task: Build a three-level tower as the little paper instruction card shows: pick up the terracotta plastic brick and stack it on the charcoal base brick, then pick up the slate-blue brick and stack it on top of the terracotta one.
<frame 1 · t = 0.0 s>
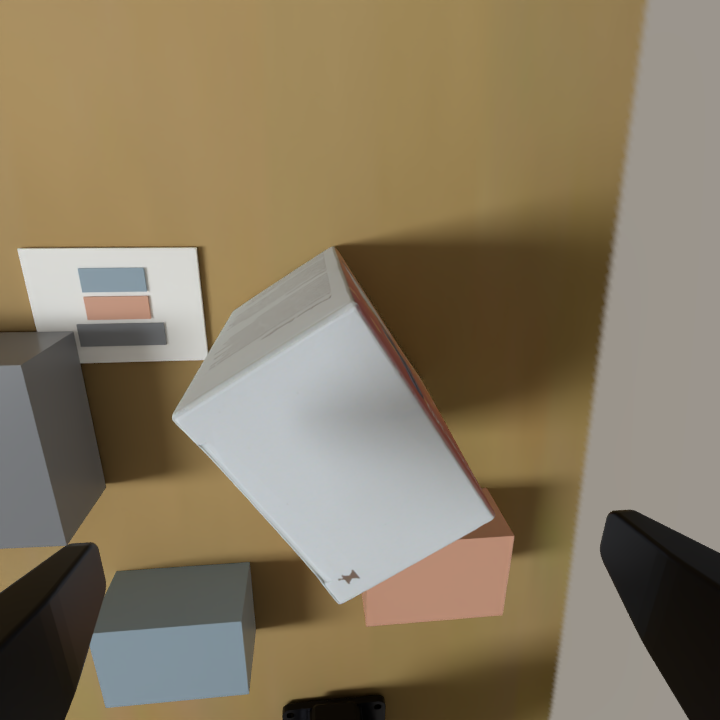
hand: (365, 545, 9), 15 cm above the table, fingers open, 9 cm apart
terracotta brick: (420, 526, 27), on the table
slate brick: (190, 598, 27), on the table
small box: (330, 345, 23), on the table
instruction card: (119, 306, 21), on the table
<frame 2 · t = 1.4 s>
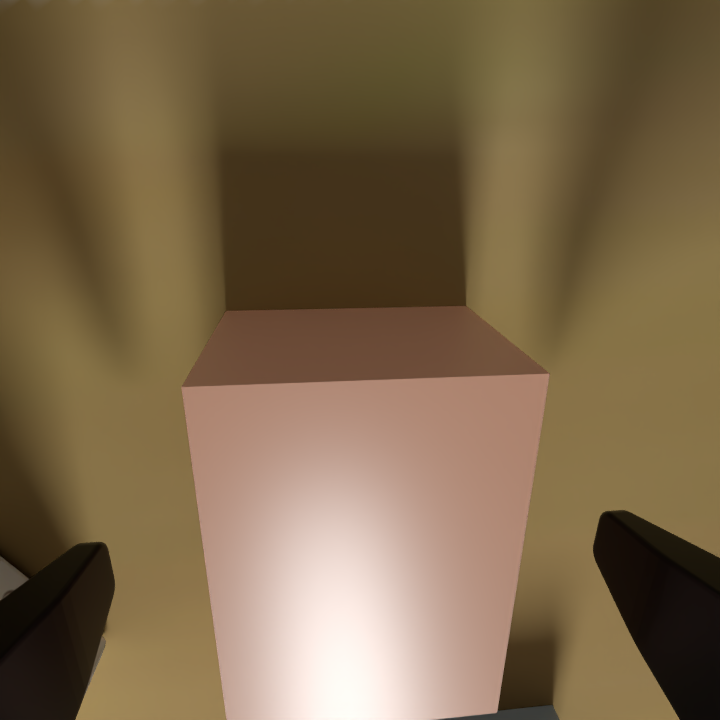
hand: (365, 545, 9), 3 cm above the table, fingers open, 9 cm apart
terracotta brick: (348, 450, 12), on the table
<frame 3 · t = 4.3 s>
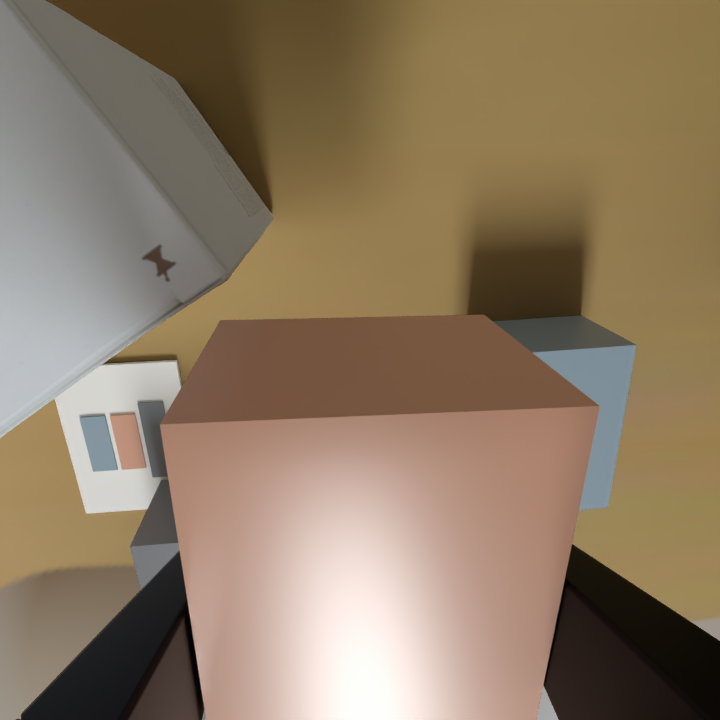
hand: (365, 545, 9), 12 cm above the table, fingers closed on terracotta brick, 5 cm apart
terracotta brick: (355, 475, 10), point 10 cm above the table, touching gripper
slate brick: (516, 392, 22), on the table
small box: (145, 217, 18), on the table
instruction card: (130, 439, 21), on the table
charcoal base brick: (263, 559, 24), on the table, touching instruction card
when the fingers open (7 cm above the table, at t = 6.3 s): terracotta brick stays where it is, resting on charcoal base brick.
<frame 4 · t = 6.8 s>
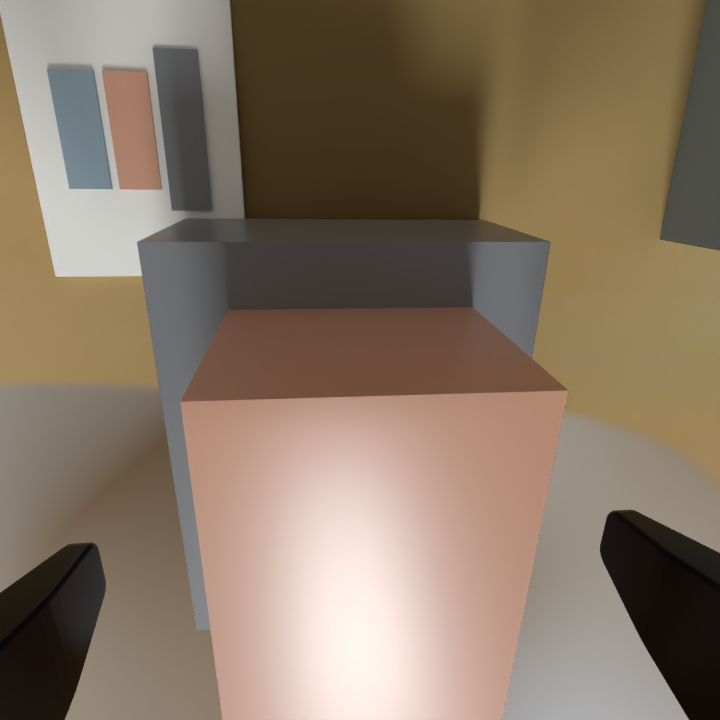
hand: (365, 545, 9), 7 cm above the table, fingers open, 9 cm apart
terracotta brick: (351, 455, 11), point 4 cm above the table, touching charcoal base brick
instruction card: (136, 133, 12), on the table
charcoal base brick: (339, 387, 15), on the table, touching instruction card, terracotta brick
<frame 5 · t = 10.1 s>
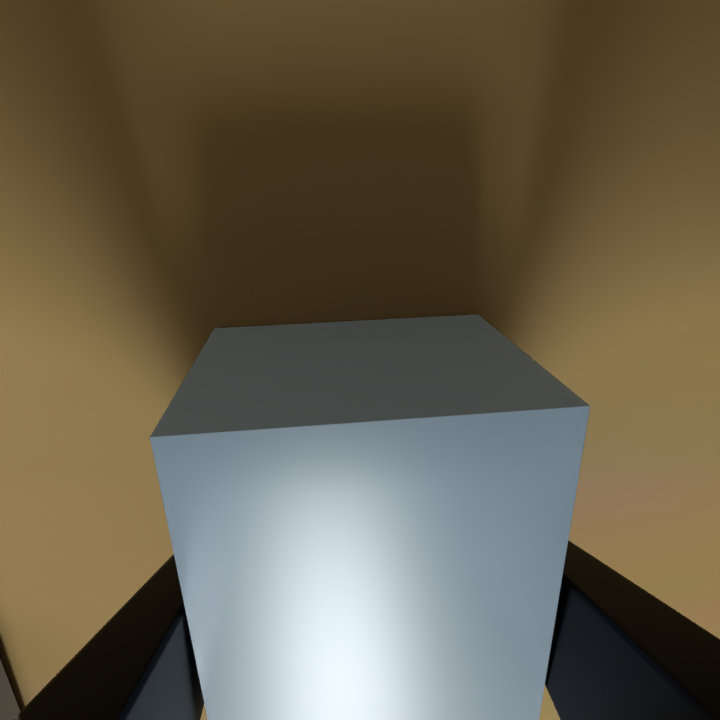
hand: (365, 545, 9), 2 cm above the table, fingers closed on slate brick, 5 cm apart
slate brick: (354, 477, 10), on the table, touching gripper
when the fingers open (11 cm above the table, at t = 13.1 s): slate brick stays where it is, resting on terracotta brick.
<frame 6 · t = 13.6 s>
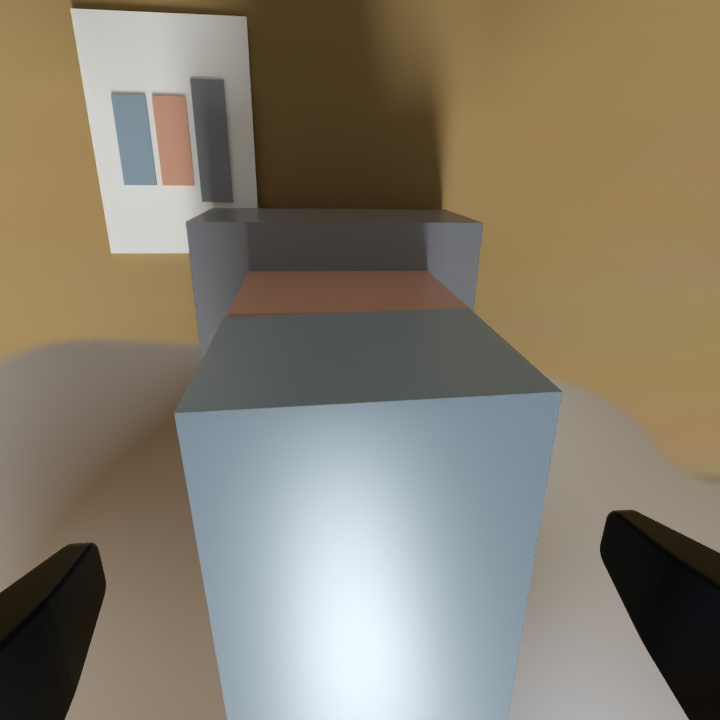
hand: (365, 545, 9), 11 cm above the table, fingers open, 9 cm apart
terracotta brick: (339, 384, 15), point 4 cm above the table, touching charcoal base brick, slate brick
slate brick: (351, 458, 11), point 8 cm above the table, touching terracotta brick
instruction card: (175, 142, 16), on the table
charcoal base brick: (332, 344, 19), on the table, touching instruction card, terracotta brick
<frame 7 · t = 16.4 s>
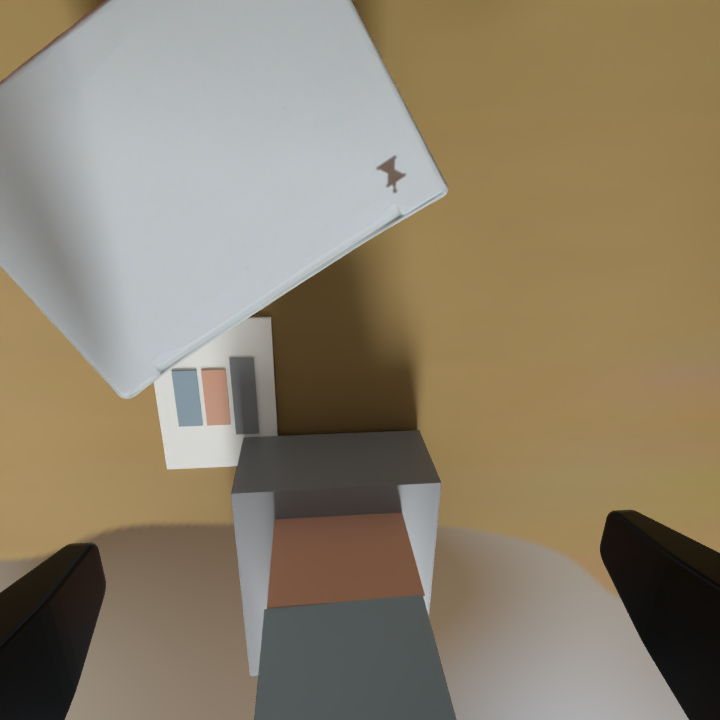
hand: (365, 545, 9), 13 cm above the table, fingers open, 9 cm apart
terracotta brick: (339, 583, 20), point 4 cm above the table, touching charcoal base brick, slate brick
slate brick: (346, 676, 17), point 8 cm above the table, touching terracotta brick
small box: (253, 172, 18), on the table
instruction card: (217, 395, 21), on the table
charcoal base brick: (333, 521, 24), on the table, touching instruction card, terracotta brick
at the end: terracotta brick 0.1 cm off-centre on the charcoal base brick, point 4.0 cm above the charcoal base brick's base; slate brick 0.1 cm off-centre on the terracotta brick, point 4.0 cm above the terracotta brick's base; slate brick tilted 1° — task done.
